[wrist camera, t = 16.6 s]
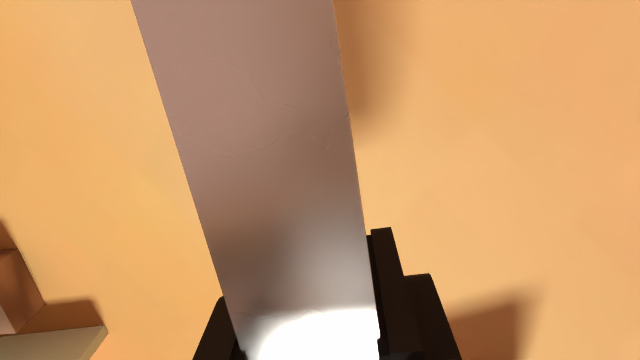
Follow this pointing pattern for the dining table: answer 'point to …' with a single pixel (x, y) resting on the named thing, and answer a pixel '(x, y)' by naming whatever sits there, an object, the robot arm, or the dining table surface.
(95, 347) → the grey u-shaped bracket
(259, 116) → the long grey plank
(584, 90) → the dining table surface
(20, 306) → the small brown block
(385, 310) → the robot arm
